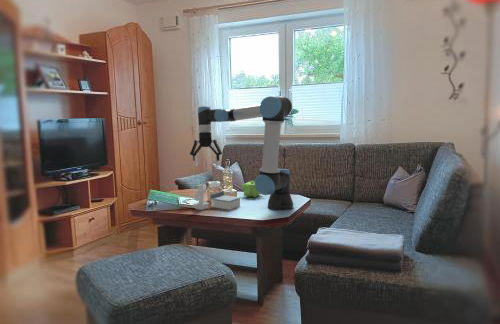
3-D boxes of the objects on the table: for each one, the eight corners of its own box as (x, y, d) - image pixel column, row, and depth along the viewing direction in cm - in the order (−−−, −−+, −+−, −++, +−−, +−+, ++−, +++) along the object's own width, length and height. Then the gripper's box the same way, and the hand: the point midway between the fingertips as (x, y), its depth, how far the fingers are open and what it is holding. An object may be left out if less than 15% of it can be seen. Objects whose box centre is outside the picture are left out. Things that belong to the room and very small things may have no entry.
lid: (240, 198, 219) (240, 193, 219) (229, 201, 210) (229, 196, 210) (222, 195, 227) (221, 191, 227) (210, 199, 218) (210, 194, 218)
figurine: (191, 210, 213) (190, 185, 211) (201, 207, 221) (200, 182, 219) (201, 212, 210) (200, 186, 208) (211, 208, 218) (210, 183, 216)
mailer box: (240, 207, 219) (239, 198, 219) (229, 210, 211) (229, 202, 211) (222, 204, 227) (221, 196, 227) (211, 207, 219) (211, 199, 219)
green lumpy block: (257, 193, 259) (257, 178, 257) (267, 196, 247) (266, 181, 246) (238, 196, 251) (237, 180, 250) (247, 199, 240) (247, 183, 238)
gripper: (226, 131, 225) (227, 165, 227) (188, 132, 231) (190, 165, 233) (222, 131, 218) (223, 166, 220) (183, 132, 224) (185, 166, 226)
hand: (206, 166), depth 227 cm, fingers open, 13 cm apart
